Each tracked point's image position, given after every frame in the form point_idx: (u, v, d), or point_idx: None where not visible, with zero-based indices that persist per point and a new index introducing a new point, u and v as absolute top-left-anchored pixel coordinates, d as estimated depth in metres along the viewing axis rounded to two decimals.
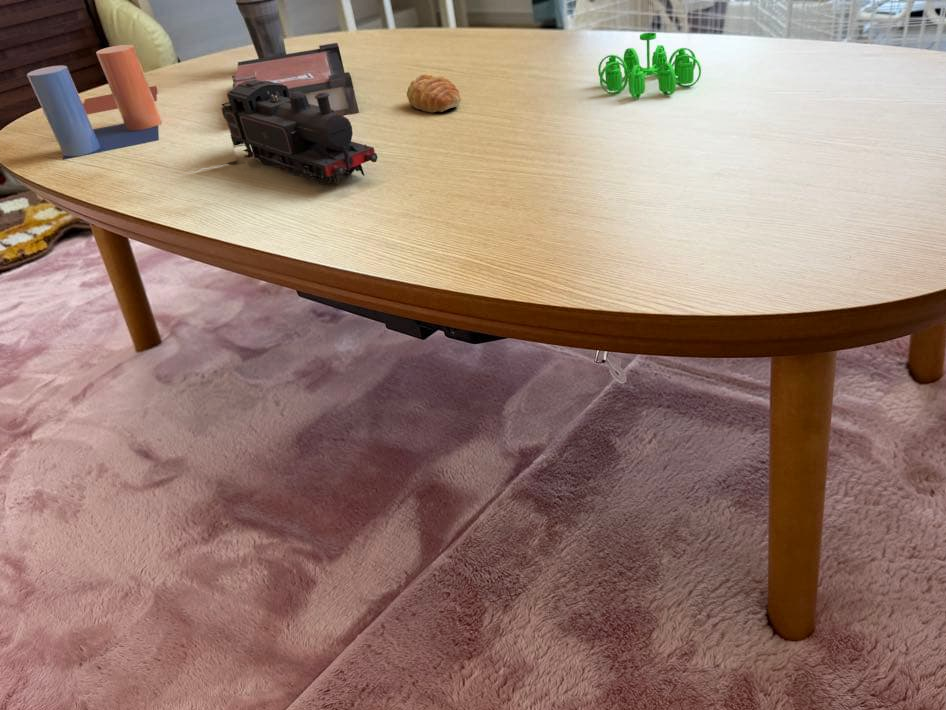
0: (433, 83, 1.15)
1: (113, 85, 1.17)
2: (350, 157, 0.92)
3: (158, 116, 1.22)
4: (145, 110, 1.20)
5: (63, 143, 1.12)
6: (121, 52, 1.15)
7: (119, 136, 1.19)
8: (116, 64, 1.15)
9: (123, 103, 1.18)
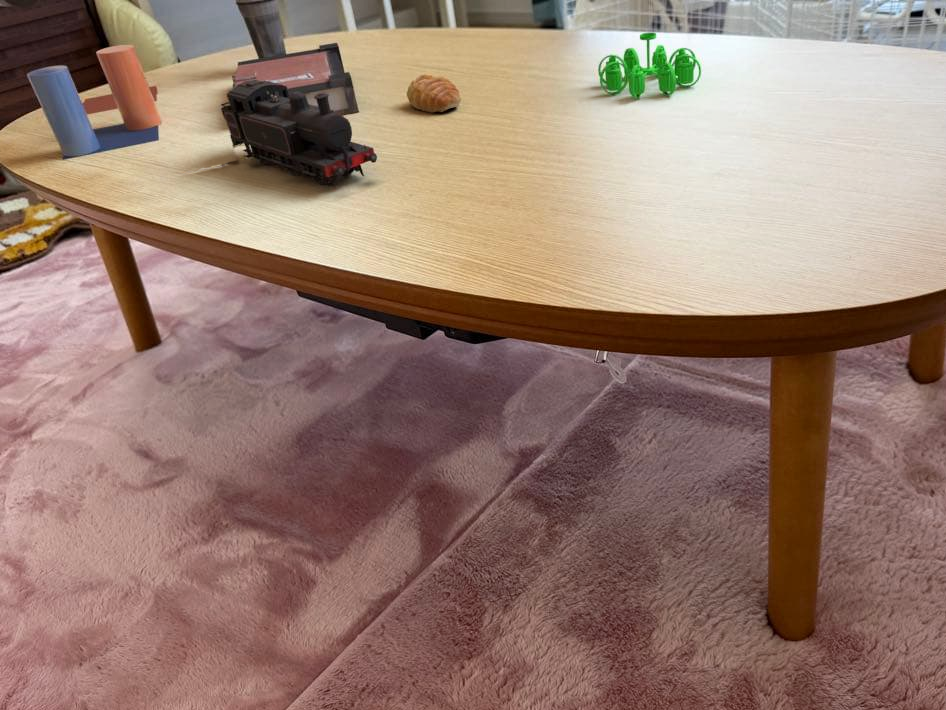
0: (433, 83, 1.15)
1: (113, 85, 1.17)
2: (349, 157, 0.92)
3: (158, 116, 1.22)
4: (145, 110, 1.20)
5: (63, 143, 1.12)
6: (121, 52, 1.15)
7: (119, 136, 1.19)
8: (116, 64, 1.15)
9: (123, 103, 1.18)
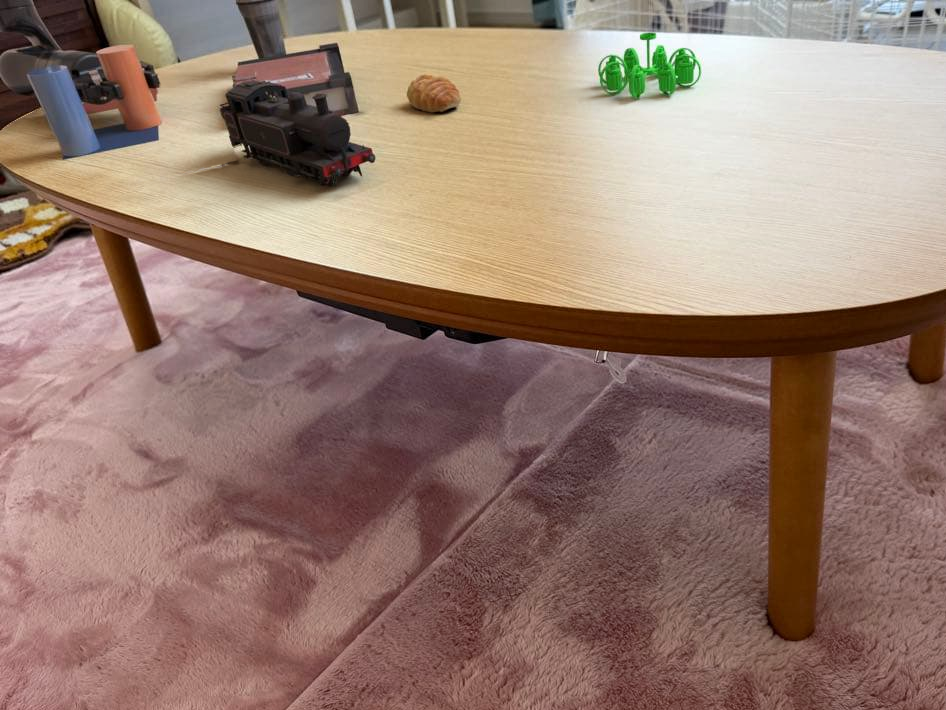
0: (433, 83, 1.15)
1: None
2: (348, 158, 0.92)
3: (158, 116, 1.22)
4: (145, 110, 1.20)
5: (63, 143, 1.12)
6: (121, 52, 1.15)
7: (119, 136, 1.19)
8: (116, 64, 1.15)
9: (123, 103, 1.18)
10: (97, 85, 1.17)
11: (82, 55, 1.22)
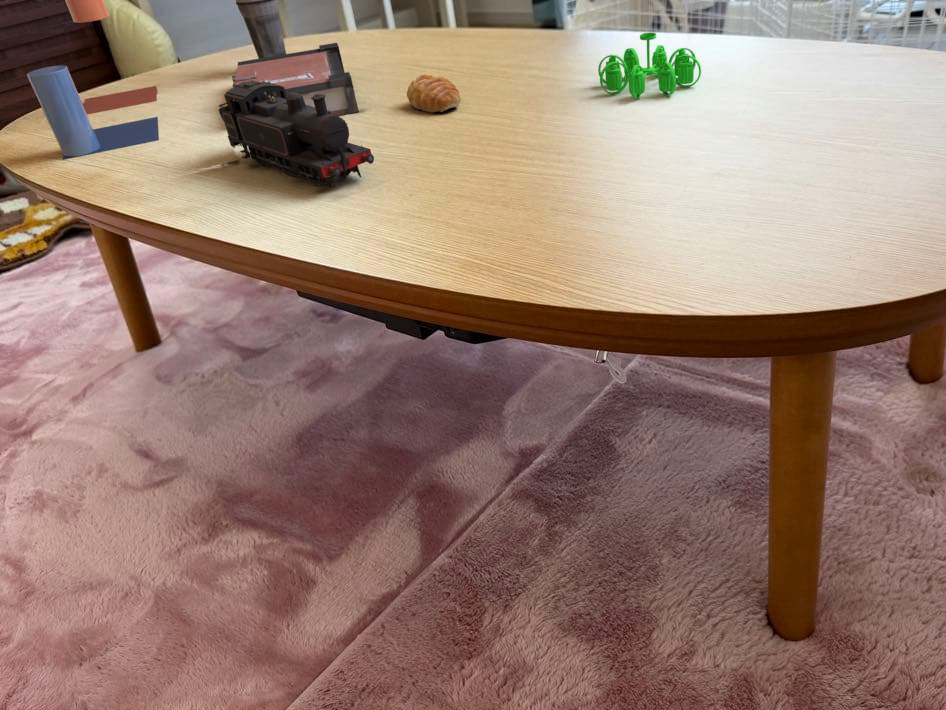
0: (433, 83, 1.15)
1: None
2: (346, 158, 0.92)
3: (105, 9, 1.26)
4: (92, 1, 1.23)
5: (63, 143, 1.12)
6: None
7: (119, 136, 1.19)
8: None
9: None
10: None
11: None
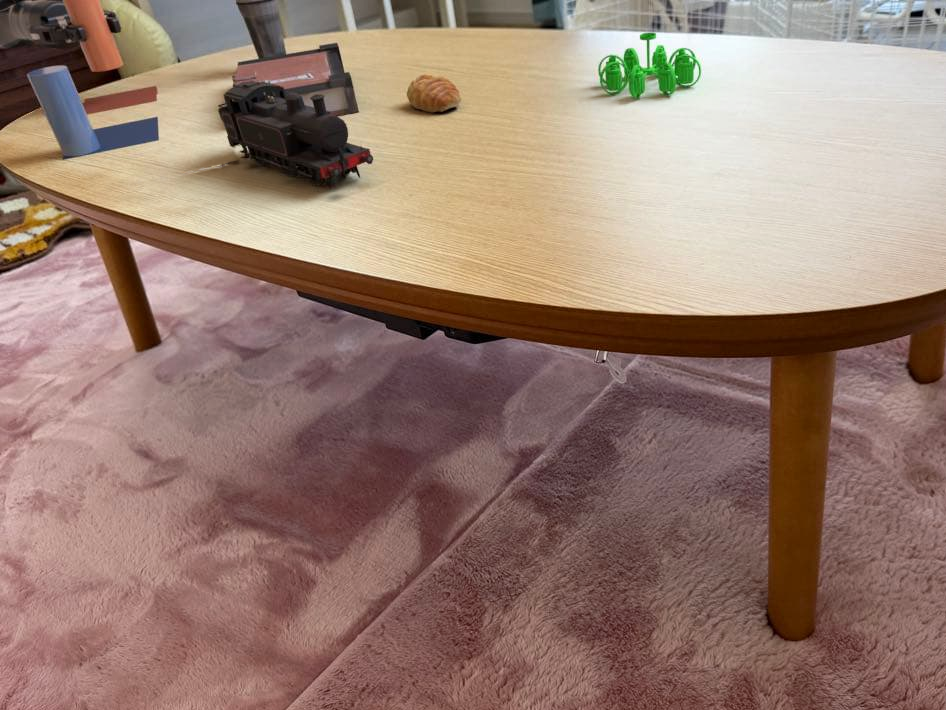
0: (433, 83, 1.15)
1: None
2: (346, 159, 0.92)
3: (120, 59, 1.34)
4: (108, 52, 1.32)
5: (63, 143, 1.12)
6: None
7: (119, 136, 1.19)
8: (79, 8, 1.27)
9: (86, 45, 1.30)
10: (63, 28, 1.29)
11: (50, 3, 1.34)
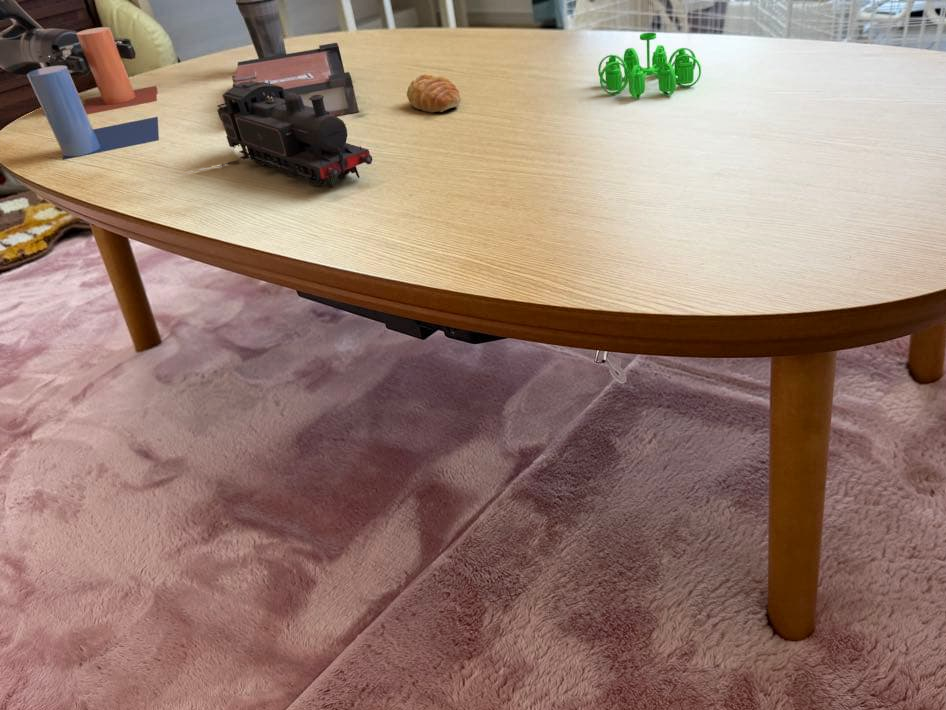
0: (433, 83, 1.15)
1: (92, 62, 1.32)
2: (345, 159, 0.92)
3: (132, 91, 1.37)
4: (120, 85, 1.35)
5: (63, 143, 1.12)
6: (98, 34, 1.30)
7: (119, 136, 1.19)
8: (93, 44, 1.30)
9: (100, 79, 1.34)
10: (63, 59, 1.31)
11: (61, 32, 1.37)
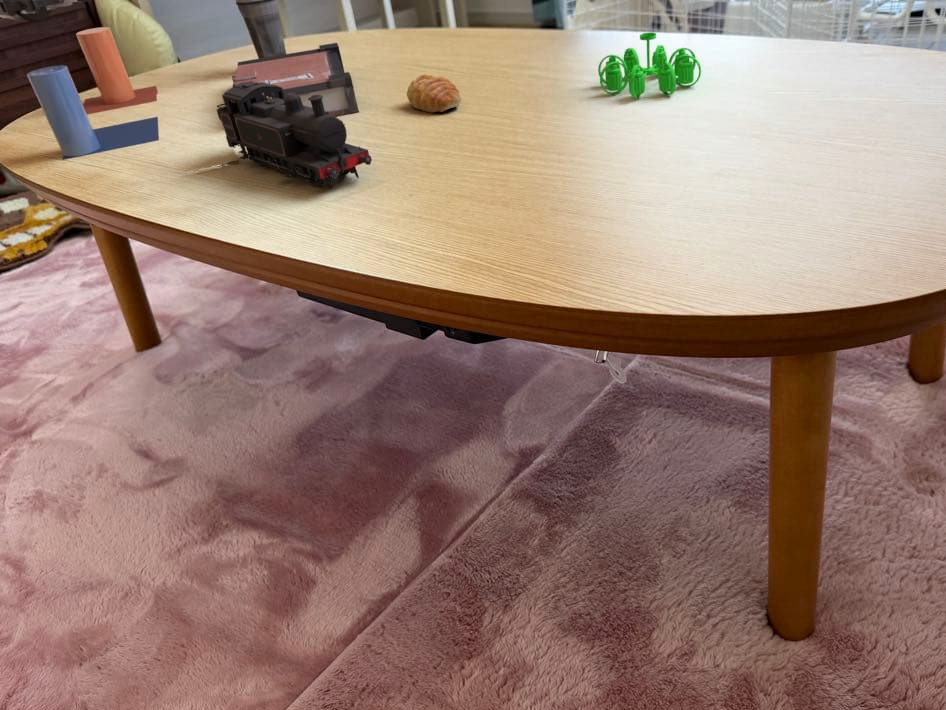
0: (433, 83, 1.15)
1: (92, 62, 1.32)
2: (344, 159, 0.92)
3: (132, 91, 1.37)
4: (120, 85, 1.35)
5: (63, 143, 1.12)
6: (98, 34, 1.30)
7: (119, 136, 1.19)
8: (93, 44, 1.30)
9: (100, 79, 1.34)
10: (16, 0, 1.30)
11: None
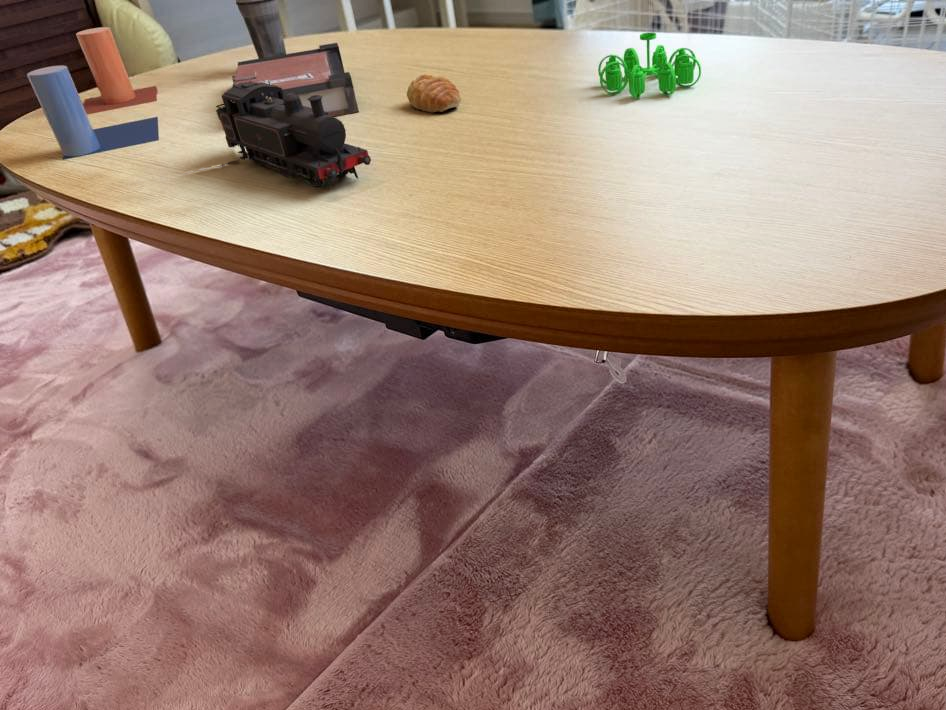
0: (433, 83, 1.15)
1: (92, 62, 1.32)
2: (343, 160, 0.92)
3: (132, 91, 1.37)
4: (120, 85, 1.35)
5: (63, 143, 1.12)
6: (98, 34, 1.30)
7: (119, 136, 1.19)
8: (93, 44, 1.30)
9: (100, 79, 1.34)
10: None
11: None
